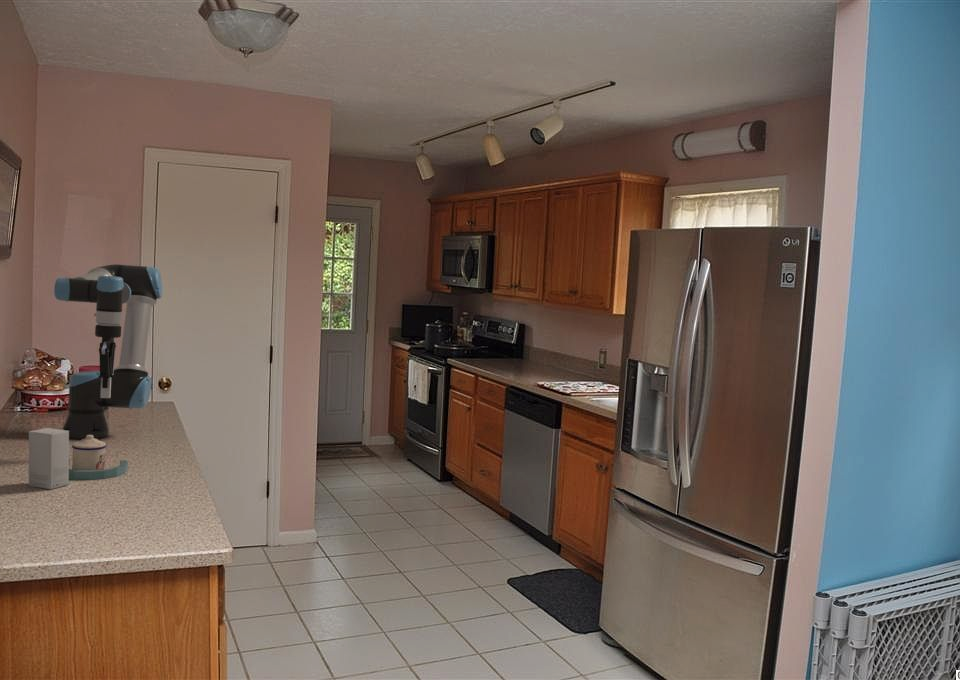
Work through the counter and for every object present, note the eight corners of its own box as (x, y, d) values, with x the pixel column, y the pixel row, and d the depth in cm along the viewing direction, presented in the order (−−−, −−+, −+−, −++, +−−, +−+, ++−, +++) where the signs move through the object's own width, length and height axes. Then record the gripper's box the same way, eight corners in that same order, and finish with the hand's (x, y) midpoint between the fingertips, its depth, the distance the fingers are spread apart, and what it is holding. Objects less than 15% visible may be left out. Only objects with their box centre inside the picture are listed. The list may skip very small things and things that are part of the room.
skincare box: (69, 485, 222) (71, 430, 221) (49, 490, 215) (51, 434, 214) (46, 481, 224) (48, 426, 223) (25, 485, 218) (28, 430, 217)
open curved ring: (59, 465, 241) (60, 458, 241) (130, 467, 246) (130, 459, 246) (43, 479, 226) (44, 470, 226) (119, 480, 230) (119, 472, 230)
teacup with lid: (102, 477, 232) (104, 438, 231) (68, 477, 229) (69, 438, 228) (108, 468, 243) (110, 430, 242) (75, 467, 240) (77, 430, 240)
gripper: (100, 322, 257) (97, 393, 259) (90, 325, 245) (87, 400, 247) (125, 323, 259) (122, 394, 261) (116, 326, 247) (113, 401, 249)
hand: (105, 397), depth 254 cm, fingers closed
